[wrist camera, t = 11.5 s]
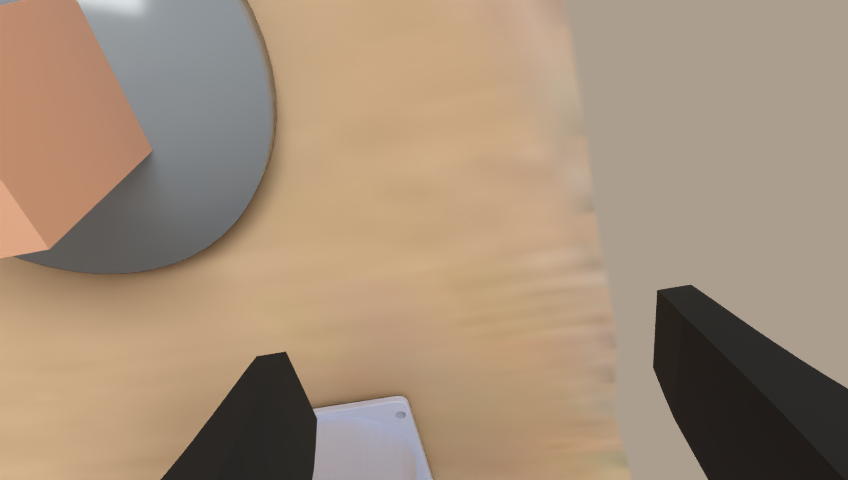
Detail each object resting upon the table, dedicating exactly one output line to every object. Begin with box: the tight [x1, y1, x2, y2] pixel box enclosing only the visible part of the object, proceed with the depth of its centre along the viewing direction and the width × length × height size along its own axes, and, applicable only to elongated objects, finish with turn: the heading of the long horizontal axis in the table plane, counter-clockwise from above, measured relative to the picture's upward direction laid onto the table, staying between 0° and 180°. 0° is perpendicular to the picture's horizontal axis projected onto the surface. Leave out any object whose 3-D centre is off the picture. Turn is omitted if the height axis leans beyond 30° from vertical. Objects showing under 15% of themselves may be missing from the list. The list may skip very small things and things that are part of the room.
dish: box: [0, 0, 277, 274], centre depth 17 cm, size 14×14×1 cm
